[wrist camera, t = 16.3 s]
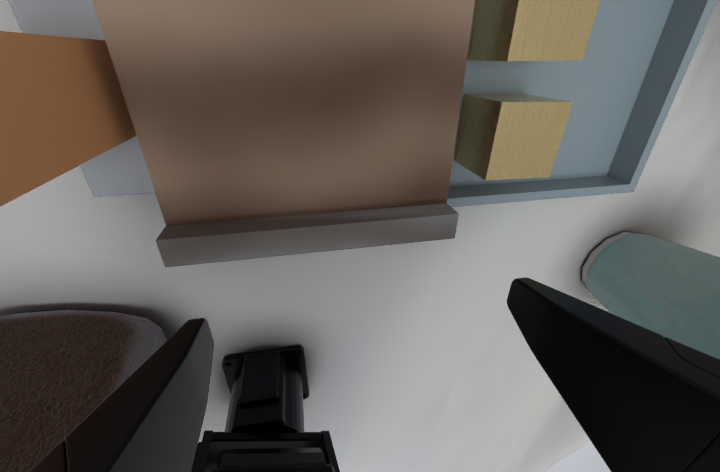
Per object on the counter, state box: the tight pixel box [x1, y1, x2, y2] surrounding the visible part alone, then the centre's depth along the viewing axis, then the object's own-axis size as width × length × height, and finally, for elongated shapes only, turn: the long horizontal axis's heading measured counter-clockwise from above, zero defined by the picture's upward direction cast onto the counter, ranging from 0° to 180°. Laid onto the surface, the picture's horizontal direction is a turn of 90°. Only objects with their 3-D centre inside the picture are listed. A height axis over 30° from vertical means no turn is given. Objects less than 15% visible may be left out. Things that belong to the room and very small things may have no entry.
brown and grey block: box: [0, 0, 155, 206], centre depth 11 cm, size 10×3×12 cm, turn 179°
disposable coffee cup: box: [582, 232, 720, 359], centre depth 23 cm, size 11×11×15 cm
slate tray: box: [447, 0, 717, 207], centre depth 19 cm, size 14×16×2 cm
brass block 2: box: [454, 94, 573, 180], centre depth 19 cm, size 4×4×4 cm
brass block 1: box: [467, 0, 600, 61], centre depth 16 cm, size 4×4×4 cm
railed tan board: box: [92, 0, 475, 267], centre depth 16 cm, size 15×15×6 cm
